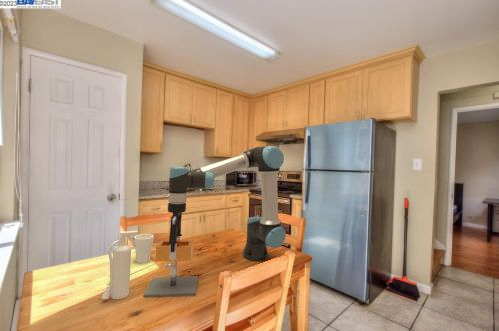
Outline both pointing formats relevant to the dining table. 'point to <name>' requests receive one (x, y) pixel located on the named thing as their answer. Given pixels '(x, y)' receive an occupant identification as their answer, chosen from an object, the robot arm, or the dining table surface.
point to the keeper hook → (172, 272)
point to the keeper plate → (171, 287)
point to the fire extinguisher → (120, 267)
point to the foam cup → (143, 247)
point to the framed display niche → (181, 254)
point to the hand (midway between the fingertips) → (174, 254)
